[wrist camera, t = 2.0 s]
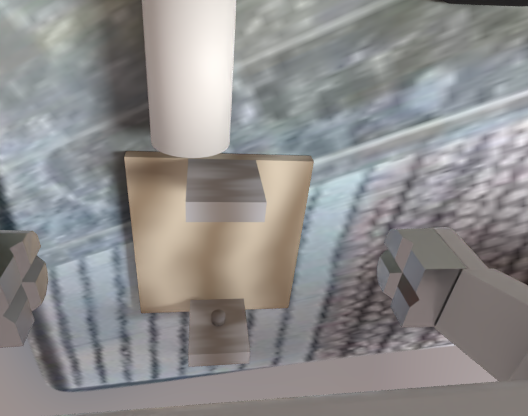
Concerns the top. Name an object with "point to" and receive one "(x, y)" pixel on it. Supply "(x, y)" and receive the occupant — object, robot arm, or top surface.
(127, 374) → the top surface
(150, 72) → the paper roll
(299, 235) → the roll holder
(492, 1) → the electric trimmer
